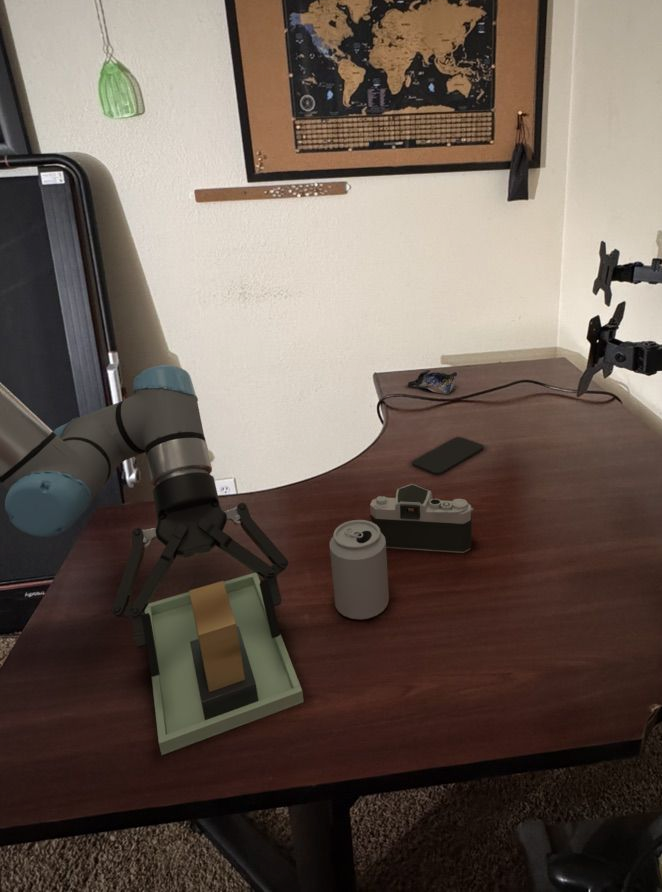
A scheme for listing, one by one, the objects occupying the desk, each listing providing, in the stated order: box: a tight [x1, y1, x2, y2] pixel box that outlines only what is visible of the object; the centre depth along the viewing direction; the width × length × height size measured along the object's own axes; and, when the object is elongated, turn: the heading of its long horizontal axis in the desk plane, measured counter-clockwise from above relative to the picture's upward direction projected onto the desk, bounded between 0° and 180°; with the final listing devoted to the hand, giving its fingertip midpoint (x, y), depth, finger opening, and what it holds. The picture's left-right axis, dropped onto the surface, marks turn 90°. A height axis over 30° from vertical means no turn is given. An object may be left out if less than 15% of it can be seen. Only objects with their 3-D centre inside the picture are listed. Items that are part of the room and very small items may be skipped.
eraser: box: [188, 580, 259, 720], centre depth 73 cm, size 10×6×11 cm, turn 23°
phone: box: [411, 436, 484, 476], centre depth 126 cm, size 7×1×15 cm
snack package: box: [407, 369, 458, 395], centre depth 162 cm, size 12×6×12 cm
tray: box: [144, 572, 305, 756], centre depth 79 cm, size 24×16×2 cm, turn 23°
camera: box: [369, 483, 475, 554], centre depth 99 cm, size 16×9×10 cm, turn 80°
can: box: [329, 519, 390, 620], centre depth 85 cm, size 8×8×12 cm
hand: (217, 655), depth 72 cm, fingers open, 13 cm apart
